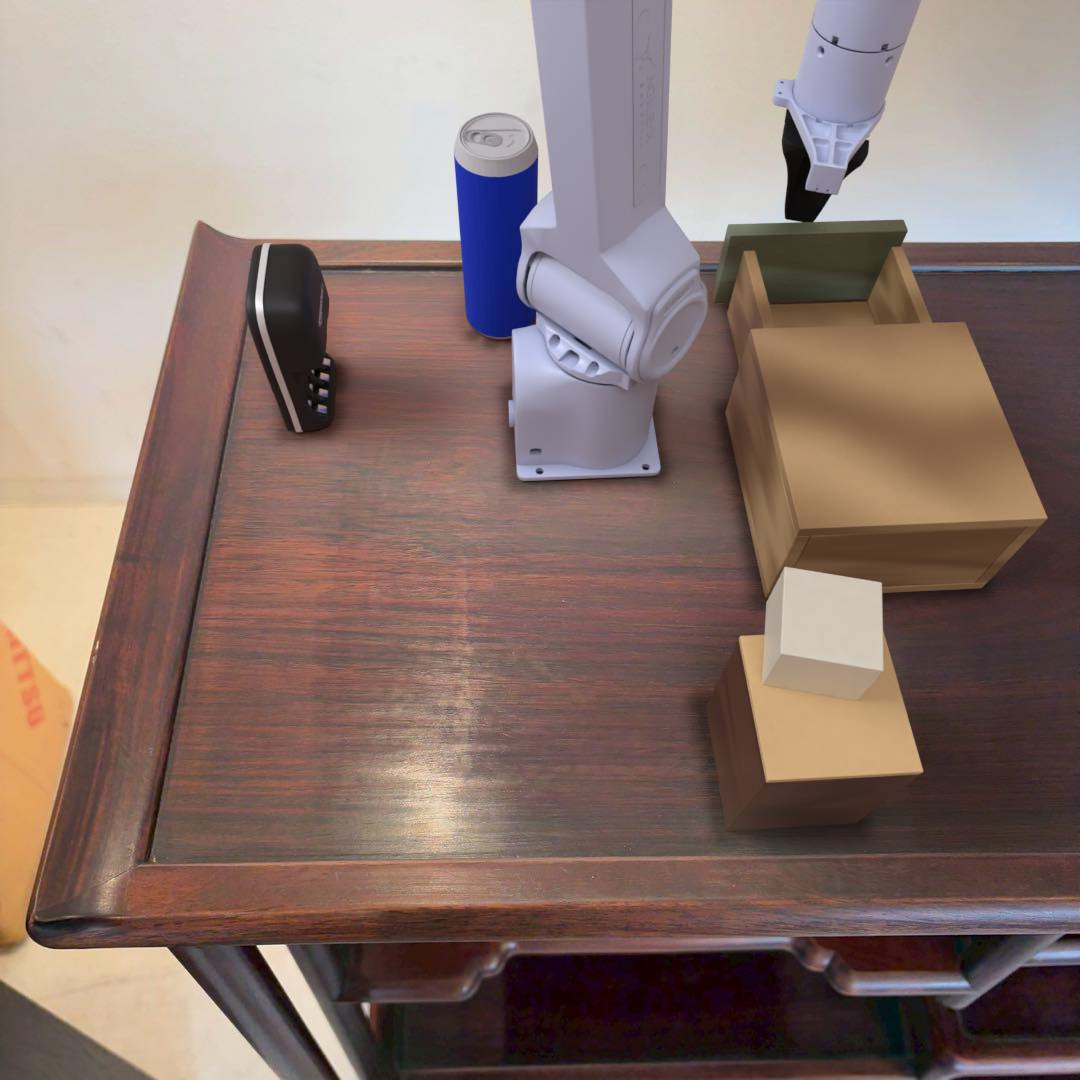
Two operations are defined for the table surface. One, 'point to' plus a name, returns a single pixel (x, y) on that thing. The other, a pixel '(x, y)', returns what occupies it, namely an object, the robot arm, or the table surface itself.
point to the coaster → (829, 727)
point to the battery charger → (292, 332)
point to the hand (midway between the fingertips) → (799, 215)
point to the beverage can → (494, 217)
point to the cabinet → (878, 457)
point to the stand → (777, 802)
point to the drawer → (816, 276)
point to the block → (823, 634)
